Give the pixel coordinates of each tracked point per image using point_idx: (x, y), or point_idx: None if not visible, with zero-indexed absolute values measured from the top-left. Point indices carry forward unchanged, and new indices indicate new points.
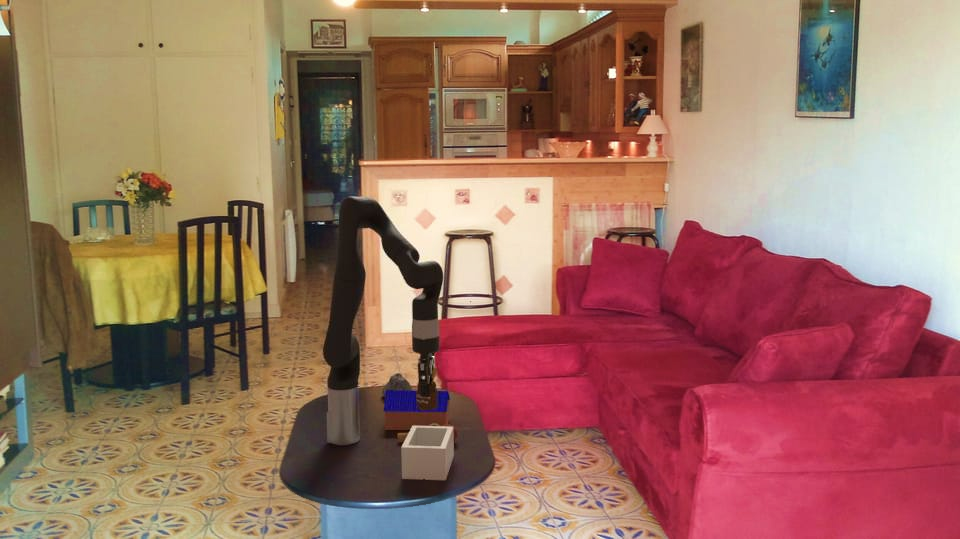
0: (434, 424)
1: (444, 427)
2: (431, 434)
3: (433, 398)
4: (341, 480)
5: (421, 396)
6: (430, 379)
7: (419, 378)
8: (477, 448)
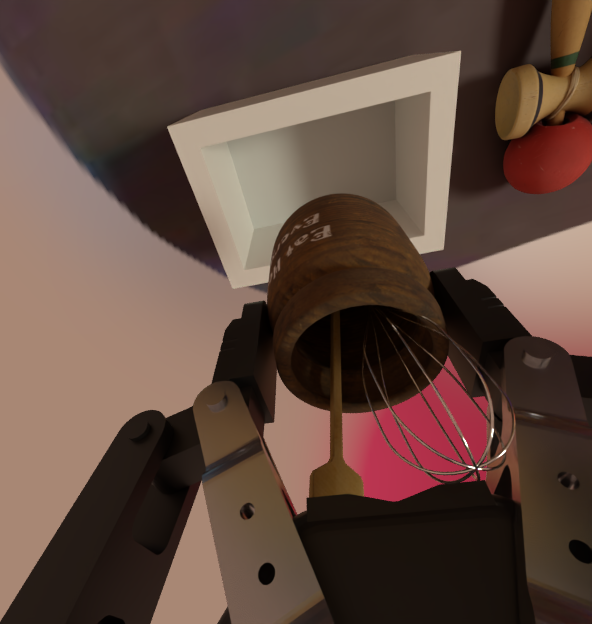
0: None
1: (434, 220)
2: (417, 162)
3: (302, 340)
4: None
5: (268, 291)
6: (464, 366)
7: (96, 487)
8: (470, 250)
